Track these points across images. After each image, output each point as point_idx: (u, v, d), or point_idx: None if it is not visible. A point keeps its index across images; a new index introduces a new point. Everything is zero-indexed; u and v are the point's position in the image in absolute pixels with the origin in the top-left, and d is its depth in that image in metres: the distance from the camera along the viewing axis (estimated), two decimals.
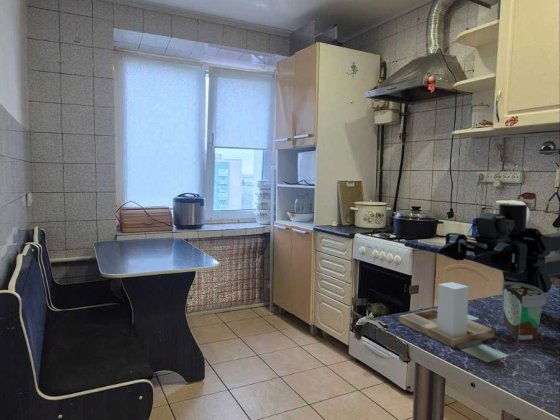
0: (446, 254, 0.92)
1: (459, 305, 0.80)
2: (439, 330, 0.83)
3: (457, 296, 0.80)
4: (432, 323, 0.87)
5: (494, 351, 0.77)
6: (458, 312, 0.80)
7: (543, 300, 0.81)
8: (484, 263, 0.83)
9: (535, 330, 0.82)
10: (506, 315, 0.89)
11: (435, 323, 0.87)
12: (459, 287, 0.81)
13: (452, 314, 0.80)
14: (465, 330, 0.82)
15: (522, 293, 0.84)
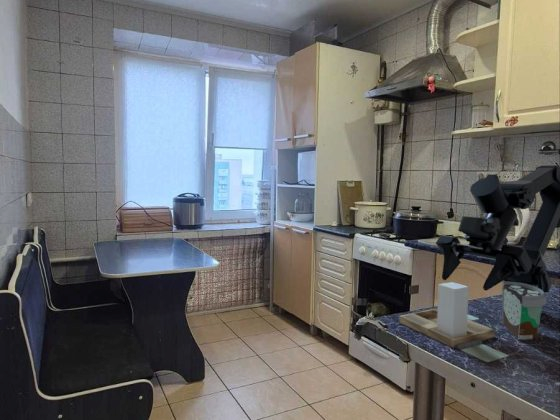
0: (450, 273, 0.89)
1: (459, 305, 0.80)
2: (439, 330, 0.83)
3: (457, 296, 0.80)
4: (432, 323, 0.87)
5: (494, 351, 0.77)
6: (458, 312, 0.80)
7: (543, 300, 0.81)
8: (494, 285, 0.80)
9: (535, 330, 0.82)
10: (506, 315, 0.89)
11: (435, 323, 0.87)
12: (459, 287, 0.81)
13: (452, 314, 0.80)
14: (465, 330, 0.82)
15: (522, 293, 0.84)
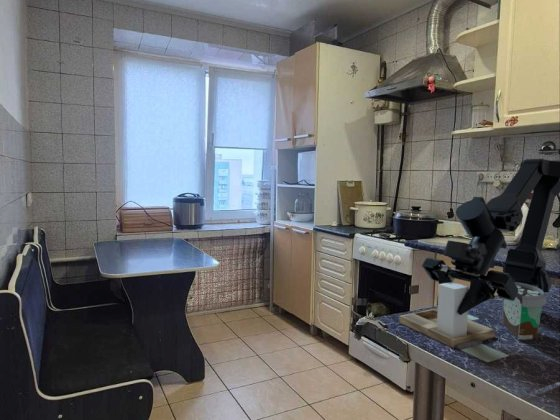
0: None
1: (459, 305, 0.80)
2: (439, 330, 0.83)
3: (457, 296, 0.80)
4: (432, 323, 0.87)
5: (494, 351, 0.77)
6: None
7: (543, 300, 0.81)
8: (469, 309, 0.80)
9: (535, 330, 0.82)
10: (506, 315, 0.89)
11: (435, 323, 0.87)
12: (459, 287, 0.81)
13: (452, 314, 0.80)
14: (465, 330, 0.82)
15: (522, 293, 0.84)
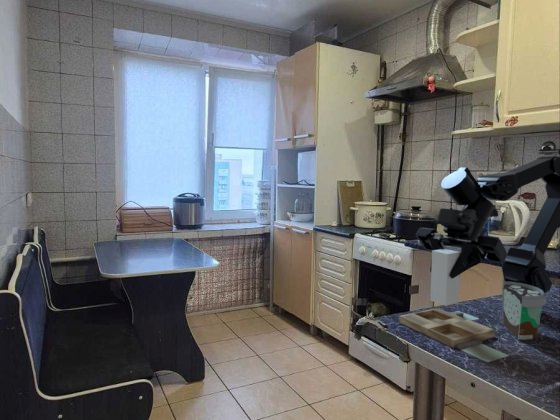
0: None
1: None
2: (432, 295, 0.87)
3: (450, 261, 0.84)
4: (432, 323, 0.87)
5: (494, 351, 0.77)
6: None
7: (543, 300, 0.81)
8: (460, 272, 0.84)
9: (535, 330, 0.82)
10: (506, 315, 0.89)
11: (435, 323, 0.87)
12: (452, 252, 0.84)
13: (445, 278, 0.84)
14: (457, 294, 0.86)
15: (522, 293, 0.84)
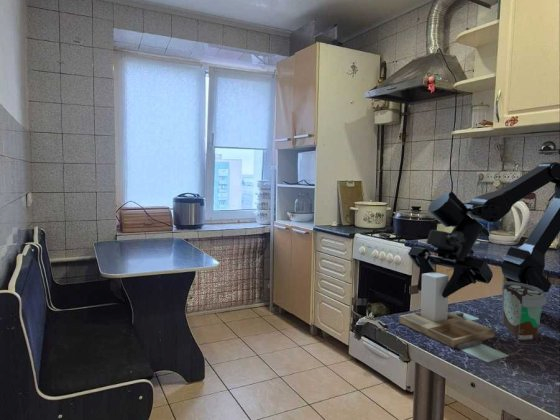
0: None
1: (440, 292, 0.89)
2: (422, 316, 0.92)
3: (438, 284, 0.89)
4: (432, 323, 0.87)
5: (494, 351, 0.77)
6: (439, 298, 0.89)
7: (543, 300, 0.81)
8: (452, 292, 0.88)
9: (535, 330, 0.82)
10: (506, 315, 0.89)
11: (435, 323, 0.87)
12: (440, 276, 0.89)
13: (434, 300, 0.89)
14: (446, 315, 0.90)
15: (522, 293, 0.84)
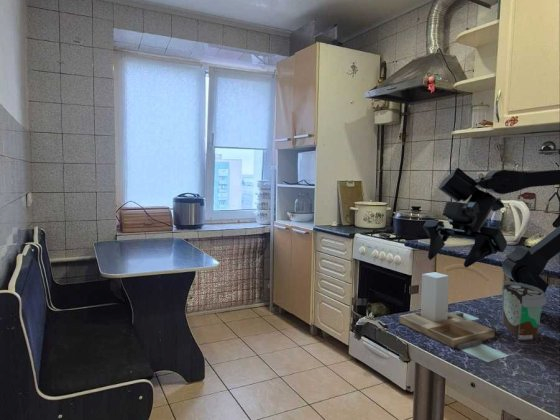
0: (435, 254, 0.98)
1: (440, 293, 0.89)
2: (422, 316, 0.92)
3: (438, 284, 0.88)
4: (432, 323, 0.87)
5: (494, 351, 0.77)
6: (439, 299, 0.89)
7: (543, 300, 0.81)
8: (473, 262, 0.90)
9: (535, 330, 0.82)
10: (506, 315, 0.89)
11: (435, 323, 0.87)
12: (440, 276, 0.89)
13: (434, 301, 0.89)
14: (446, 315, 0.90)
15: (522, 293, 0.84)
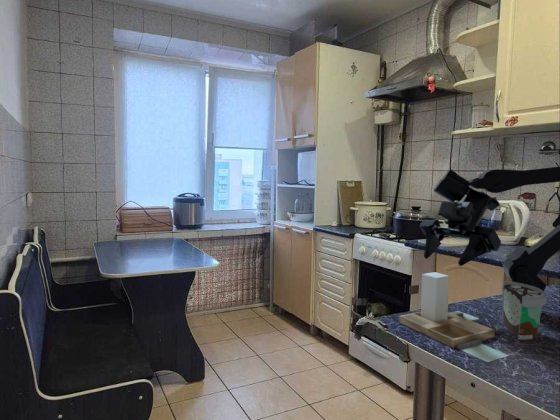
0: (431, 253, 1.00)
1: (440, 293, 0.89)
2: (422, 316, 0.92)
3: (438, 284, 0.88)
4: (432, 323, 0.87)
5: (494, 351, 0.77)
6: (439, 299, 0.89)
7: (543, 300, 0.81)
8: (468, 261, 0.92)
9: (535, 330, 0.82)
10: (506, 315, 0.89)
11: (435, 323, 0.87)
12: (440, 276, 0.89)
13: (434, 301, 0.89)
14: (446, 315, 0.90)
15: (522, 293, 0.84)
